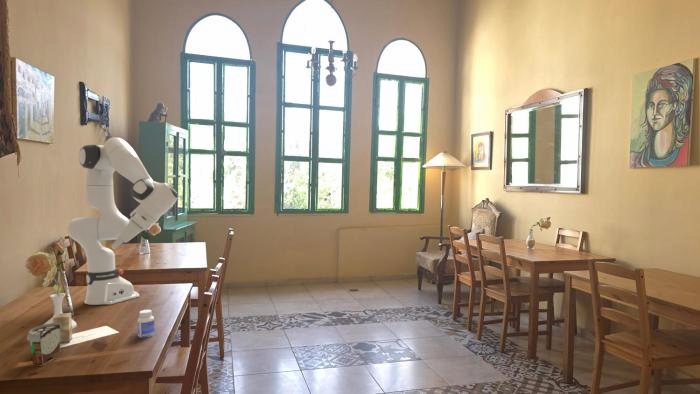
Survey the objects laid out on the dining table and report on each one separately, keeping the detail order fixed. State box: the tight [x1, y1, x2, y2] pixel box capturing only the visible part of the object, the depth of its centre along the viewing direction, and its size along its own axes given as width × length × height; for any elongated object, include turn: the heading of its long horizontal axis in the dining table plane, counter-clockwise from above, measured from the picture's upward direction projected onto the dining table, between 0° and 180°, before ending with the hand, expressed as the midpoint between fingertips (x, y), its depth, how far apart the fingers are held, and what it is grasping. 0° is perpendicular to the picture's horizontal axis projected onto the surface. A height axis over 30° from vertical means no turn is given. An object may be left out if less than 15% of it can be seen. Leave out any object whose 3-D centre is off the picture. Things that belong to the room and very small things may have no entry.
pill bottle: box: [137, 309, 156, 339], centre depth 160 cm, size 5×5×10 cm
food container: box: [26, 322, 62, 366], centre depth 141 cm, size 12×6×10 cm, turn 5°
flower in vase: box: [41, 265, 78, 330], centre depth 165 cm, size 13×11×25 cm
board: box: [60, 325, 120, 349], centre depth 158 cm, size 20×11×1 cm, turn 141°
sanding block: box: [53, 312, 73, 344], centre depth 153 cm, size 4×4×9 cm
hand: (113, 246), depth 168 cm, fingers open, 8 cm apart
